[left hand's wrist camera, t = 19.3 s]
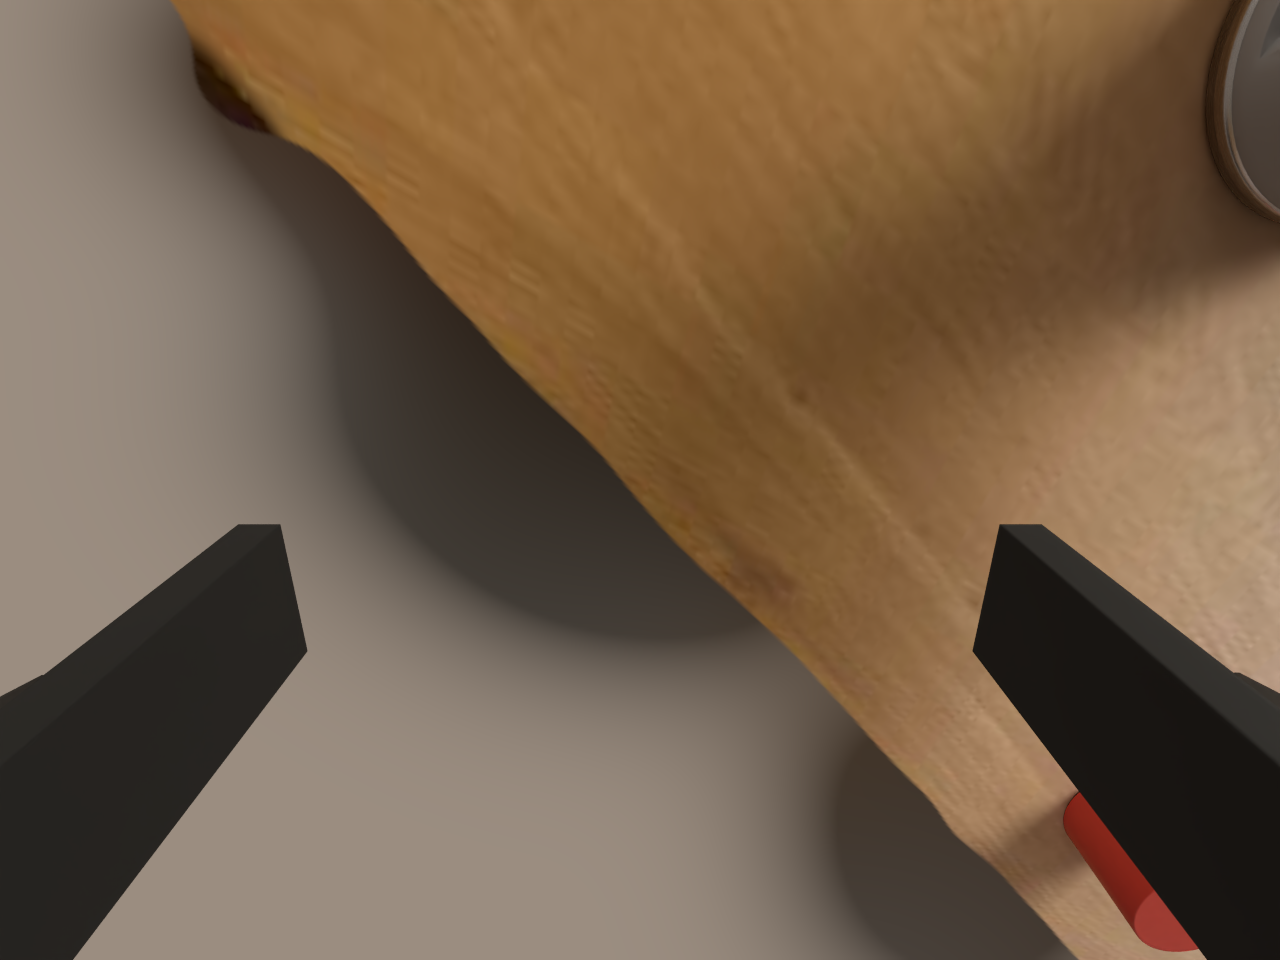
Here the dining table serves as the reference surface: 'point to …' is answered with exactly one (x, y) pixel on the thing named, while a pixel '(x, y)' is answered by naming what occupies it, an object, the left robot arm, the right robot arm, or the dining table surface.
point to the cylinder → (1123, 880)
